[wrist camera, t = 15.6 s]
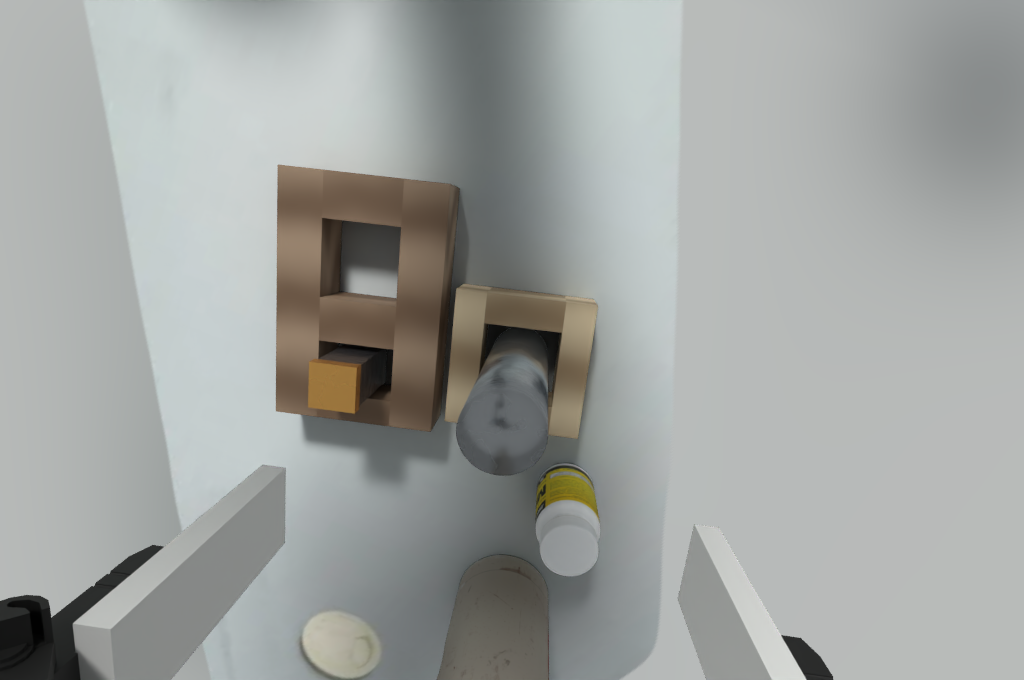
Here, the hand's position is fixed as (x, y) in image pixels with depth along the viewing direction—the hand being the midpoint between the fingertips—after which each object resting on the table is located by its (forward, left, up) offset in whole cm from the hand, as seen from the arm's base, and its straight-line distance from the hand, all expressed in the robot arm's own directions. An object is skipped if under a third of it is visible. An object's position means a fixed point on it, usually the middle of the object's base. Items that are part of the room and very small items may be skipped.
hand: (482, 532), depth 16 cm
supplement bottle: (+11, +5, -24) cm, 27 cm away
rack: (0, 0, -24) cm, 24 cm away
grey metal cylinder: (0, 0, -24) cm, 24 cm away
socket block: (-3, -12, -24) cm, 27 cm away
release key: (+2, -12, -23) cm, 26 cm away
